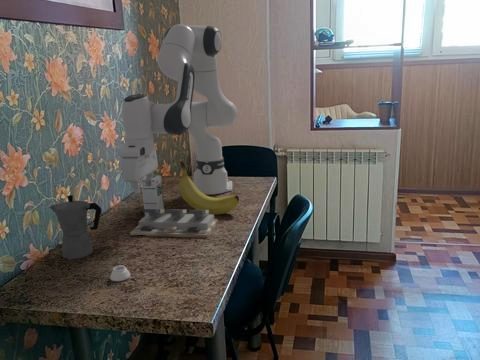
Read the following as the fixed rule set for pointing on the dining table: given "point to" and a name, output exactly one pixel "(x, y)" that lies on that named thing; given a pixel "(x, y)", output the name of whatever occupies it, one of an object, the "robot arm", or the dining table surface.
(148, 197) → the syrup box
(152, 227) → the switch board
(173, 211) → the rocker
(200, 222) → the switch housing
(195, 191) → the banana
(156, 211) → the block
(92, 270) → the dining table surface
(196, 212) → the rocker
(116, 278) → the white cup
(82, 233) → the coffeepot
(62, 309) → the dining table surface
